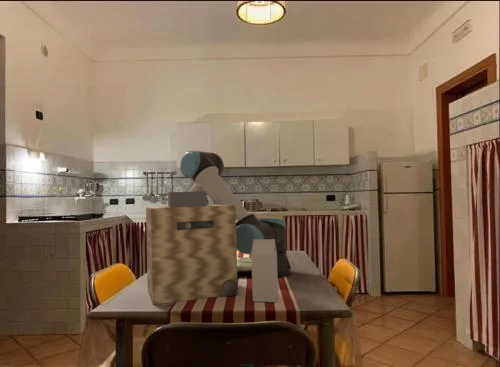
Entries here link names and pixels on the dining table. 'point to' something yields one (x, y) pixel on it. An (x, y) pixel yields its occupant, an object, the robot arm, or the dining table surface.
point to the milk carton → (264, 270)
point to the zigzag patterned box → (191, 252)
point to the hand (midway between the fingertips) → (173, 210)
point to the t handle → (186, 199)
